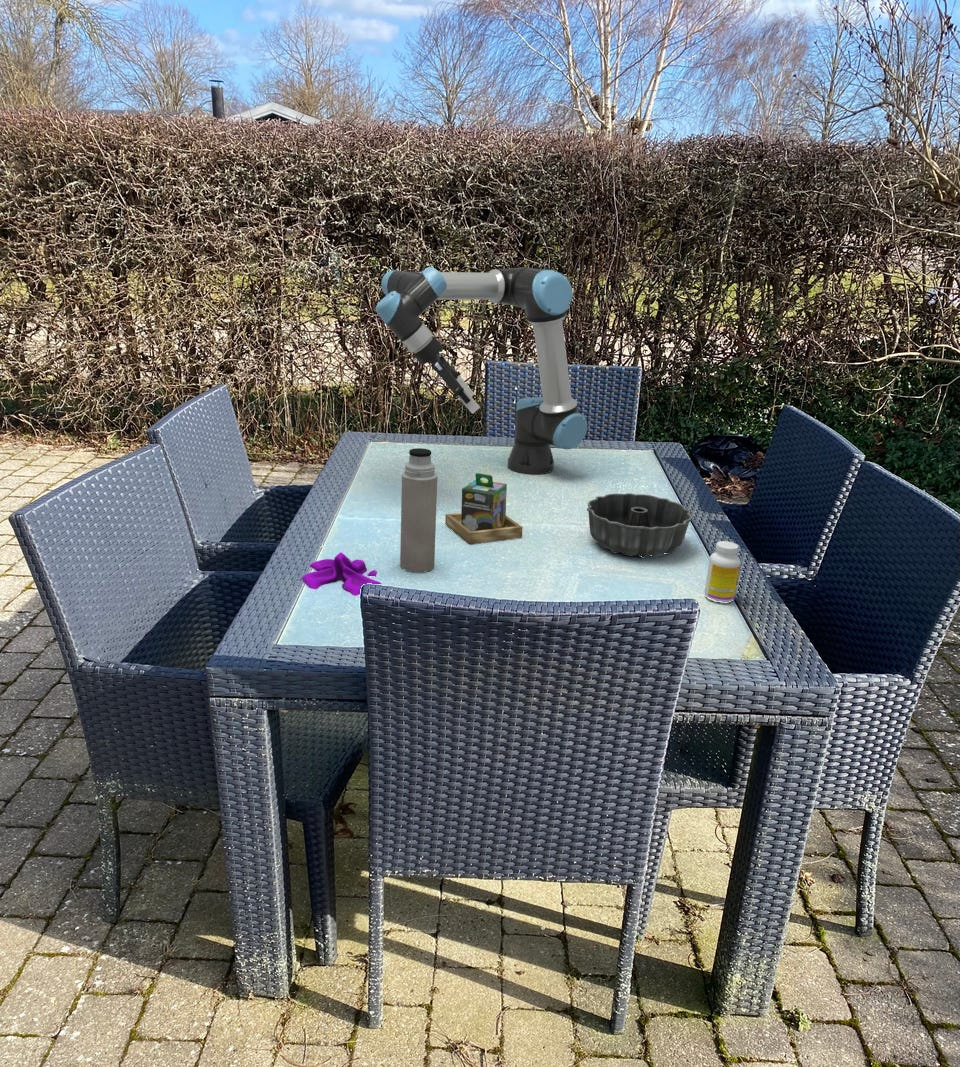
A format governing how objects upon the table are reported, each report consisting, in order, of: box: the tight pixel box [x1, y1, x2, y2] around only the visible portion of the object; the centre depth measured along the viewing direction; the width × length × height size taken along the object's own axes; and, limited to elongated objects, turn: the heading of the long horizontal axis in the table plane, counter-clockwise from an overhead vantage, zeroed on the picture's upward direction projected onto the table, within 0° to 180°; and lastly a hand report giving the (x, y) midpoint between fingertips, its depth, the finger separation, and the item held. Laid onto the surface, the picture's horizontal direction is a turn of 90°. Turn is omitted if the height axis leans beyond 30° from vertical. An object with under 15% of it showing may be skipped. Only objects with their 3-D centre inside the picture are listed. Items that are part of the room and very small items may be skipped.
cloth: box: [301, 552, 382, 596], centre depth 201 cm, size 22×19×6 cm
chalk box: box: [460, 472, 508, 531], centre depth 230 cm, size 9×9×15 cm
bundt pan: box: [586, 492, 693, 558], centre depth 227 cm, size 26×26×10 cm
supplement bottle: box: [704, 540, 741, 602], centre depth 197 cm, size 7×7×13 cm
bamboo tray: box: [444, 512, 524, 545], centre depth 232 cm, size 15×15×3 cm
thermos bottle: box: [399, 447, 438, 573], centre depth 203 cm, size 8×8×28 cm
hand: (473, 403), depth 244 cm, fingers open, 13 cm apart
